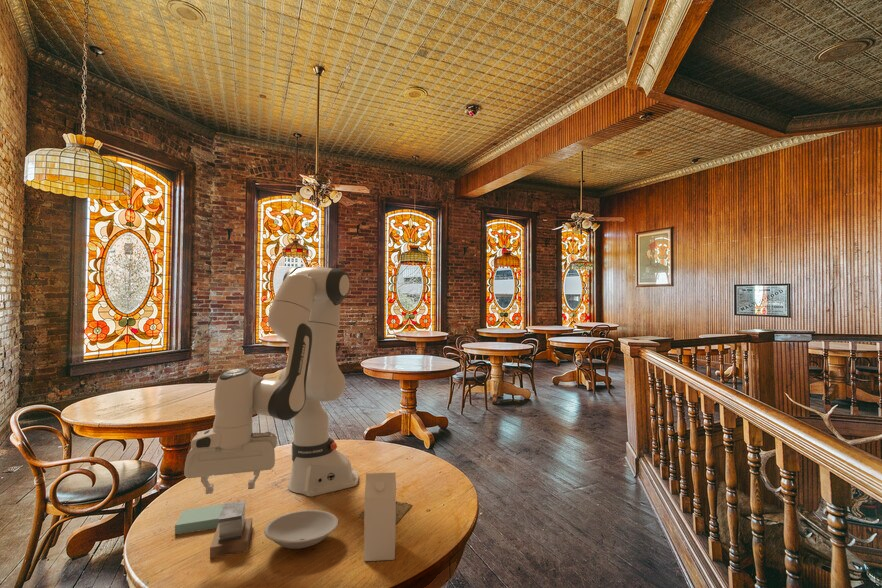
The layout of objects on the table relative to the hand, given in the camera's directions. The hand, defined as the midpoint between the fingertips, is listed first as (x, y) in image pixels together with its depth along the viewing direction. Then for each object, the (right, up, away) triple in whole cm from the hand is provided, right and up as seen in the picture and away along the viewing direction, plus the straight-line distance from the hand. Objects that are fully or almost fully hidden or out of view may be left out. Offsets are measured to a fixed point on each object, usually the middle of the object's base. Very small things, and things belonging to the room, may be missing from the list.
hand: (230, 490), depth 102 cm
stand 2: (0, -13, 0) cm, 13 cm away
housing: (0, -11, 0) cm, 11 cm away
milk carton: (+38, -13, -3) cm, 40 cm away
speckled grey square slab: (+37, -14, +15) cm, 42 cm away
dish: (+18, -13, -1) cm, 23 cm away
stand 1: (-12, -13, +9) cm, 20 cm away
